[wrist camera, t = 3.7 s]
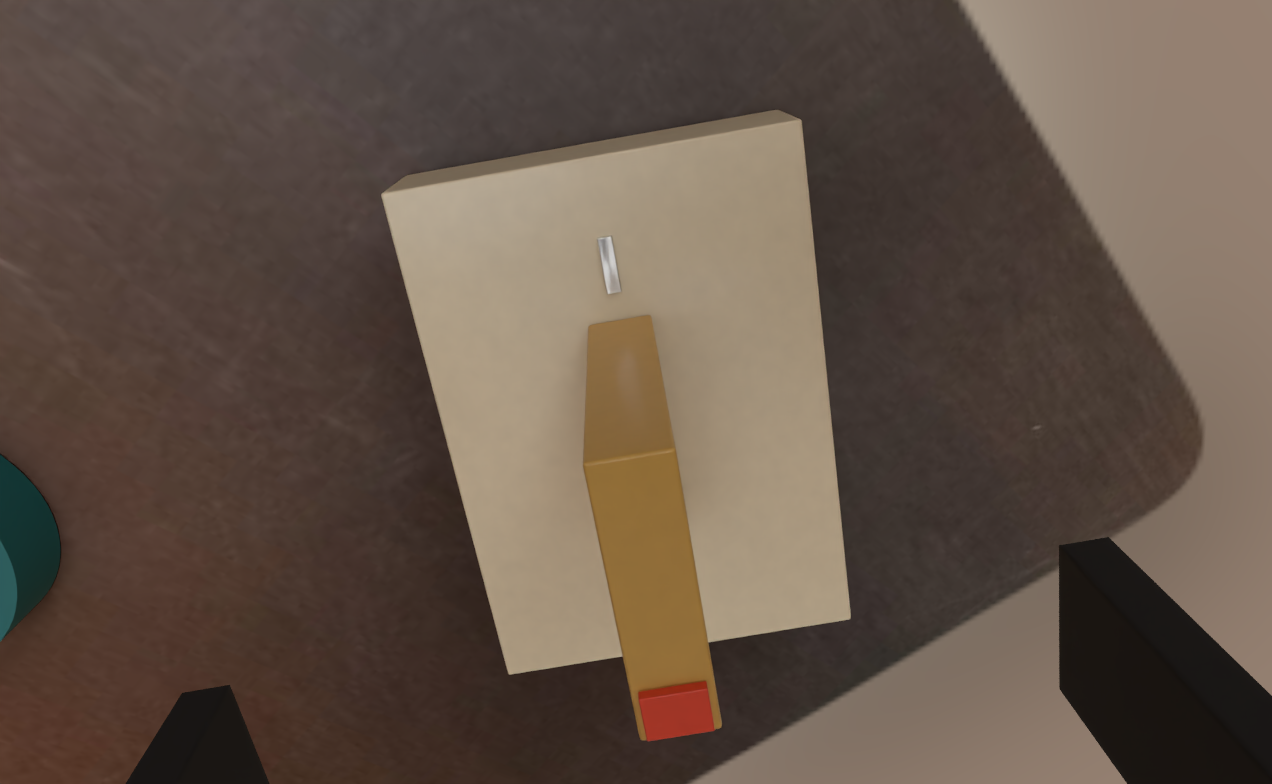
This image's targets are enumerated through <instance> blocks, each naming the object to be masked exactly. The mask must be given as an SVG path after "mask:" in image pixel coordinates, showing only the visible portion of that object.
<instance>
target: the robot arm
mask: <svg viewBox="0 0 1272 784" xmlns="http://www.w3.org/2000/svg"><path fill="white" fill-rule="evenodd" d="M1059 643H1060V644H1059V649H1060V650H1059V652H1060V655H1059V656H1060V657H1059V658H1060V659H1059V660H1060V661H1059V662H1060V664H1059V666H1060V667H1059V669H1060V670H1059V671H1060V673H1059V674H1060V690H1061V691H1062V693H1063V694H1064V696H1065V697H1066V699H1067V700H1068V701H1069V703H1070V704H1071V706H1072V707H1073V708H1074V710H1075V711H1076V712H1077V714H1078V715H1079V717H1080V718H1081V720H1082V721H1083V722H1084V723H1085V725H1086V726H1087V728H1088V729H1089V731H1090V732H1091V733H1092V735H1093V736H1094V737H1095V739H1096V741H1097V742H1098V743H1099V745H1100V746H1101V748H1102V749H1103V750H1104V752H1105V753H1106V755H1107V756H1108V757H1109V759H1110V760H1111V762H1112V763H1113V764H1114V766H1115V767H1116V769H1117V770H1118V771H1119V773H1120V774H1121V775H1122V777H1123V778H1124V780H1125V781H1126V782H1127V784H1272V696H1271V695H1270V694H1269V693H1268V692H1267V691H1266V690H1265V689H1264V688H1263V687H1262V686H1261V685H1260V684H1259V683H1258V682H1257V681H1256V680H1255V679H1254V678H1253V677H1252V676H1250V674H1249V673H1248V672H1247V671H1245V670H1244V669H1243V668H1242V667H1241V666H1240V665H1239V664H1238V663H1237V662H1236V661H1235V660H1234V659H1233V658H1232V657H1231V656H1230V655H1229V654H1228V653H1227V652H1226V651H1225V650H1224V649H1223V648H1222V647H1221V646H1220V645H1219V644H1218V643H1217V642H1216V641H1215V640H1213V638H1211V636H1209V634H1207V633H1206V632H1205V631H1204V630H1203V629H1202V628H1201V627H1200V626H1199V625H1198V624H1197V623H1196V622H1195V621H1194V620H1193V619H1192V618H1191V617H1190V616H1189V615H1188V614H1187V613H1186V612H1185V611H1184V610H1183V609H1182V608H1181V607H1180V606H1179V605H1178V604H1177V603H1175V601H1173V599H1171V598H1170V597H1169V596H1168V595H1167V594H1166V593H1165V592H1164V591H1163V590H1162V589H1161V588H1160V587H1159V586H1158V585H1157V584H1156V583H1155V582H1154V581H1153V580H1152V579H1151V578H1150V577H1149V576H1148V575H1147V574H1146V573H1145V572H1144V571H1143V570H1141V568H1140V567H1139V566H1137V564H1135V563H1134V562H1133V561H1132V560H1131V559H1130V558H1129V557H1128V556H1127V555H1126V554H1125V553H1124V552H1123V551H1122V550H1121V549H1120V548H1119V547H1118V546H1117V545H1116V544H1115V543H1114V542H1113V541H1112V540H1111V539H1110V538H1109V537H1107V538H1101V539H1095V540H1089V541H1083V542H1077V543H1071V544H1065V545H1059ZM126 784H269V782H268V779H267V777H266V774H265V772H264V769H263V767H262V764H261V762H260V759H259V757H258V754H257V752H256V749H255V747H254V744H253V742H252V739H251V737H250V734H249V732H248V729H247V727H246V724H245V722H244V719H243V717H242V714H241V712H240V709H239V707H238V704H237V702H236V699H235V697H234V694H233V692H232V689H231V687H230V685H227V686H221V687H215V688H209V689H203V690H197V691H191V692H185V693H182V694H181V696H180V697H179V699H178V701H177V702H176V704H175V705H174V707H173V709H172V710H171V712H170V713H169V715H168V717H167V718H166V720H165V721H164V723H163V725H162V726H161V728H160V729H159V731H158V733H157V734H156V736H155V737H154V739H153V741H152V742H151V744H150V745H149V747H148V749H147V750H146V752H145V753H144V755H143V757H142V758H141V760H140V762H139V763H138V765H137V766H136V768H135V770H134V771H133V773H132V774H131V776H130V778H129V779H128V781H127V782H126Z"/></svg>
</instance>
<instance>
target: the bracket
mask: <svg viewBox="0 0 1272 784" xmlns="http://www.w3.org/2000/svg"><path fill="white" fill-rule="evenodd" d="M59 563H60V539H59V534H58V530H57V526H56V523H55V520H54V518H53V515H52V513H51V511H50V509H49V507H48V505H47V503H46V502H45V500H44V499H43V497H42V495H41V494H40V493H39V491H38V490H37V489H36V487H35V486H34V485H33V484H32V483H31V482H30V481H29V479H28V478H27V477H26V476H25V475H24V474H23V473H22V472H20V471H19V470H18V469H17V468H16V467H15V466H14V465H12V464H11V463H10V462H9V461H8V460H6V459H5V458H4V457H3V456H1V455H0V641H1V640H2V639H3V638H4V637H5V636H6V635H7V634H8V633H9V632H10V631H11V630H12V629H13V628H14V627H15V626H16V625H17V624H18V623H19V622H20V621H21V620H22V619H23V618H24V617H25V616H26V615H27V614H28V613H29V612H30V611H31V610H32V609H33V608H34V607H35V606H36V605H37V604H38V603H39V602H40V601H41V600H42V598H43V597H44V596H45V595H46V594H47V592H48V591H49V589H50V588H51V586H52V584H53V582H54V580H55V578H56V575H57V572H58V568H59Z"/></svg>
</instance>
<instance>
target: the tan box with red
mask: <svg viewBox="0 0 1272 784" xmlns="http://www.w3.org/2000/svg"><path fill="white" fill-rule="evenodd" d="M583 469H584V474H585V479H586V484H587V488H588V493H589V498H590V503H591V508H592V512H593V517H594V522H595V527H596V531H597V536H598V541H599V546H600V551H601V555H602V560H603V565H604V570H605V574H606V579H607V584H608V589H609V594H610V598H611V603H612V608H613V613H614V617H615V622H616V627H617V632H618V637H619V641H620V646H621V651H622V656H623V660H624V665H625V670H626V675H627V680H628V684H629V689H630V694H631V699H632V703H633V708H634V713H635V718H636V723H637V727H638V732H639V737H640V739H641V740H643V741H644V740H647V741H653V740H660V739H666V738H672V737H678V736H685V735H691V734H697V733H703V732H710V731H714V730H715V729H719V728H721V726H722V721H721V715H720V709H719V703H718V697H717V691H716V685H715V679H714V673H713V667H712V662H711V656H710V650H709V644H708V638H707V632H706V626H705V620H704V614H703V608H702V602H701V596H700V590H699V584H698V578H697V572H696V566H695V560H694V554H693V548H692V542H691V536H690V530H689V524H688V518H687V512H686V506H685V500H684V494H683V488H682V482H681V477H680V471H679V465H678V459H677V453H676V447H675V442H674V436H673V431H672V425H671V420H670V414H669V409H668V403H667V398H666V393H665V387H664V382H663V376H662V371H661V365H660V360H659V355H658V349H657V344H656V338H655V333H654V327H653V322H652V317H651V316H650V315H646V316H641V317H635V318H629V319H623V320H617V321H611V322H606V323H600V324H594V325H590V326H588V342H587V368H586V394H585V420H584V446H583Z"/></svg>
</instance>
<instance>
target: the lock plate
mask: <svg viewBox="0 0 1272 784" xmlns="http://www.w3.org/2000/svg"><path fill="white" fill-rule="evenodd" d="M381 197H382V201H383V204H384V208H385V212H386V216H387V219H388V223H389V227H390V231H391V234H392V238H393V242H394V246H395V250H396V253H397V257H398V261H399V265H400V268H401V272H402V276H403V280H404V283H405V287H406V291H407V295H408V298H409V302H410V306H411V310H412V313H413V317H414V321H415V325H416V329H417V332H418V336H419V340H420V344H421V347H422V351H423V355H424V359H425V362H426V366H427V370H428V374H429V377H430V381H431V385H432V389H433V392H434V396H435V400H436V404H437V408H438V411H439V415H440V419H441V423H442V426H443V430H444V434H445V438H446V441H447V445H448V449H449V453H450V456H451V460H452V464H453V468H454V471H455V475H456V479H457V483H458V486H459V490H460V494H461V498H462V502H463V505H464V509H465V513H466V517H467V520H468V524H469V528H470V532H471V535H472V539H473V543H474V547H475V550H476V554H477V558H478V562H479V565H480V569H481V573H482V577H483V581H484V584H485V588H486V592H487V596H488V599H489V603H490V607H491V611H492V614H493V618H494V622H495V626H496V629H497V633H498V637H499V641H500V644H501V648H502V652H503V656H504V660H505V663H506V667H507V671H508V674H510V675H511V674H517V673H523V672H529V671H535V670H541V669H548V668H554V667H560V666H566V665H572V664H578V663H584V662H591V661H597V660H603V659H609V658H615V657H621V656H622V651H621V646H620V641H619V637H618V632H617V627H616V622H615V617H614V613H613V608H612V603H611V598H610V594H609V589H608V584H607V579H606V574H605V570H604V565H603V560H602V555H601V551H600V546H599V541H598V536H597V531H596V527H595V522H594V517H593V512H592V508H591V503H590V498H589V493H588V488H587V484H586V479H585V474H584V469H583V446H584V420H585V394H586V368H587V342H588V326H590V325H594V324H600V323H606V322H611V321H617V320H623V319H629V318H635V317H641V316H646V315H650V316H651V317H652V322H653V327H654V333H655V338H656V344H657V349H658V355H659V360H660V365H661V371H662V376H663V382H664V387H665V393H666V398H667V403H668V409H669V414H670V420H671V425H672V431H673V436H674V442H675V447H676V453H677V459H678V465H679V471H680V477H681V482H682V488H683V494H684V500H685V506H686V512H687V518H688V524H689V530H690V536H691V542H692V548H693V554H694V560H695V566H696V572H697V578H698V584H699V590H700V596H701V602H702V608H703V614H704V620H705V626H706V632H707V638H708V642H714V641H720V640H726V639H732V638H738V637H744V636H750V635H757V634H763V633H769V632H775V631H781V630H787V629H794V628H800V627H806V626H812V625H818V624H824V623H830V622H837V621H843V620H849V619H850V618H851V613H850V603H849V593H848V583H847V573H846V563H845V553H844V542H843V532H842V522H841V512H840V502H839V492H838V482H837V472H836V462H835V452H834V442H833V431H832V421H831V411H830V401H829V391H828V381H827V371H826V361H825V351H824V341H823V331H822V320H821V310H820V300H819V290H818V280H817V270H816V260H815V250H814V240H813V230H812V219H811V209H810V199H809V189H808V179H807V169H806V159H805V149H804V139H803V129H802V121H801V119H798V118H796V117H794V116H791V115H789V114H787V113H784V112H782V111H780V110H772V111H766V112H761V113H755V114H749V115H744V116H738V117H732V118H727V119H721V120H716V121H710V122H704V123H699V124H693V125H687V126H682V127H676V128H670V129H665V130H659V131H653V132H648V133H642V134H637V135H631V136H625V137H620V138H614V139H608V140H603V141H597V142H591V143H586V144H580V145H575V146H569V147H563V148H558V149H552V150H546V151H541V152H535V153H529V154H524V155H518V156H512V157H507V158H501V159H496V160H490V161H484V162H479V163H473V164H467V165H462V166H456V167H450V168H445V169H439V170H434V171H428V172H422V173H417V174H411V175H406V176H405V177H404V178H402V179H401V180H399V181H398V182H397V183H395V184H394V185H393V186H391V187H390V188H389V189H387V190H386V191H385V192H383V193H382V194H381Z"/></svg>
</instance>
